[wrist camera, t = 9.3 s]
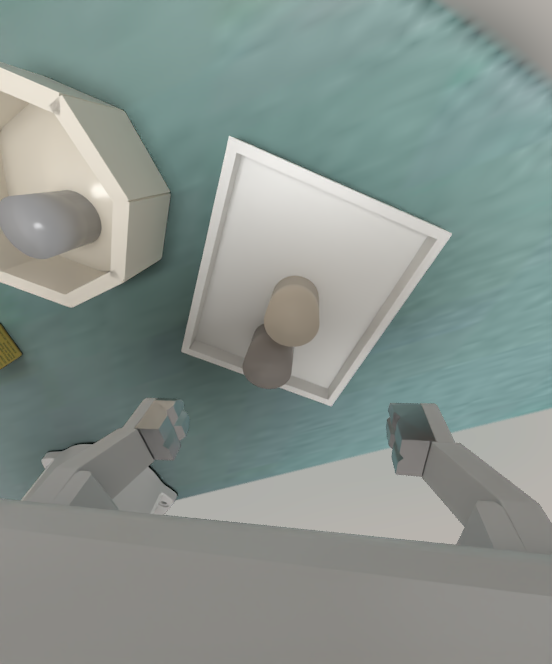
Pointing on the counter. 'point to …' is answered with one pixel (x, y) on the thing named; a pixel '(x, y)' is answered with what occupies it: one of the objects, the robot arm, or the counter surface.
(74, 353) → the counter surface
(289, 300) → the pebble
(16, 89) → the bowl
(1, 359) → the candy box
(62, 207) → the grey rounded lump
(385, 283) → the tray
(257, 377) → the pebble
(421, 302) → the counter surface
